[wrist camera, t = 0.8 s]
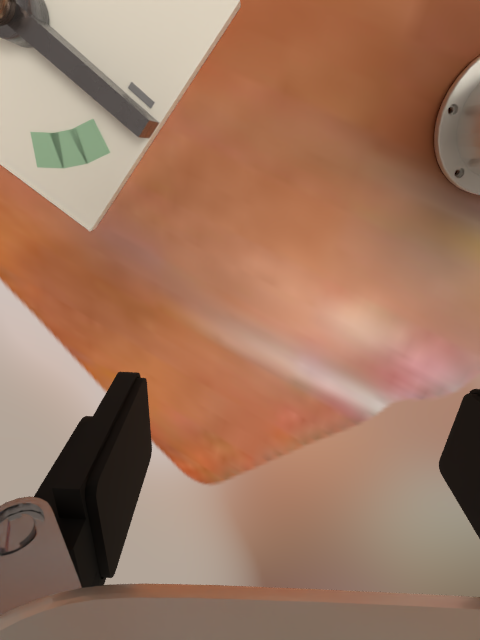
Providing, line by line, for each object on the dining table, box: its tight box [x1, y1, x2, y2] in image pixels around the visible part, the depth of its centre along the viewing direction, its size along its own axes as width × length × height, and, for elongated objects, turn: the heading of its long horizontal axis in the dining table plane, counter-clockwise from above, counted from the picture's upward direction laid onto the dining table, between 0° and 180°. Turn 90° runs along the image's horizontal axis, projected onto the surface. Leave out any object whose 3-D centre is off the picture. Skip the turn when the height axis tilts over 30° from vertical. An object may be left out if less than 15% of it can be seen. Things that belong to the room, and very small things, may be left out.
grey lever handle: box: [0, 0, 159, 138], centre depth 28 cm, size 15×4×6 cm, turn 50°
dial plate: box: [0, 0, 241, 231], centre depth 31 cm, size 24×22×2 cm
